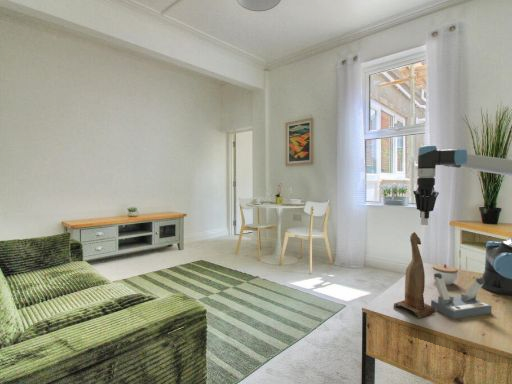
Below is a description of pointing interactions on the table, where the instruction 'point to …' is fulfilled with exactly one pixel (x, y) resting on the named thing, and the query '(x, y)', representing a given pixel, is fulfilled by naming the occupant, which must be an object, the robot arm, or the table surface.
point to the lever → (441, 287)
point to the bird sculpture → (415, 283)
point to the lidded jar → (446, 273)
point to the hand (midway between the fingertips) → (424, 224)
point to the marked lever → (475, 288)
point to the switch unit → (461, 306)
